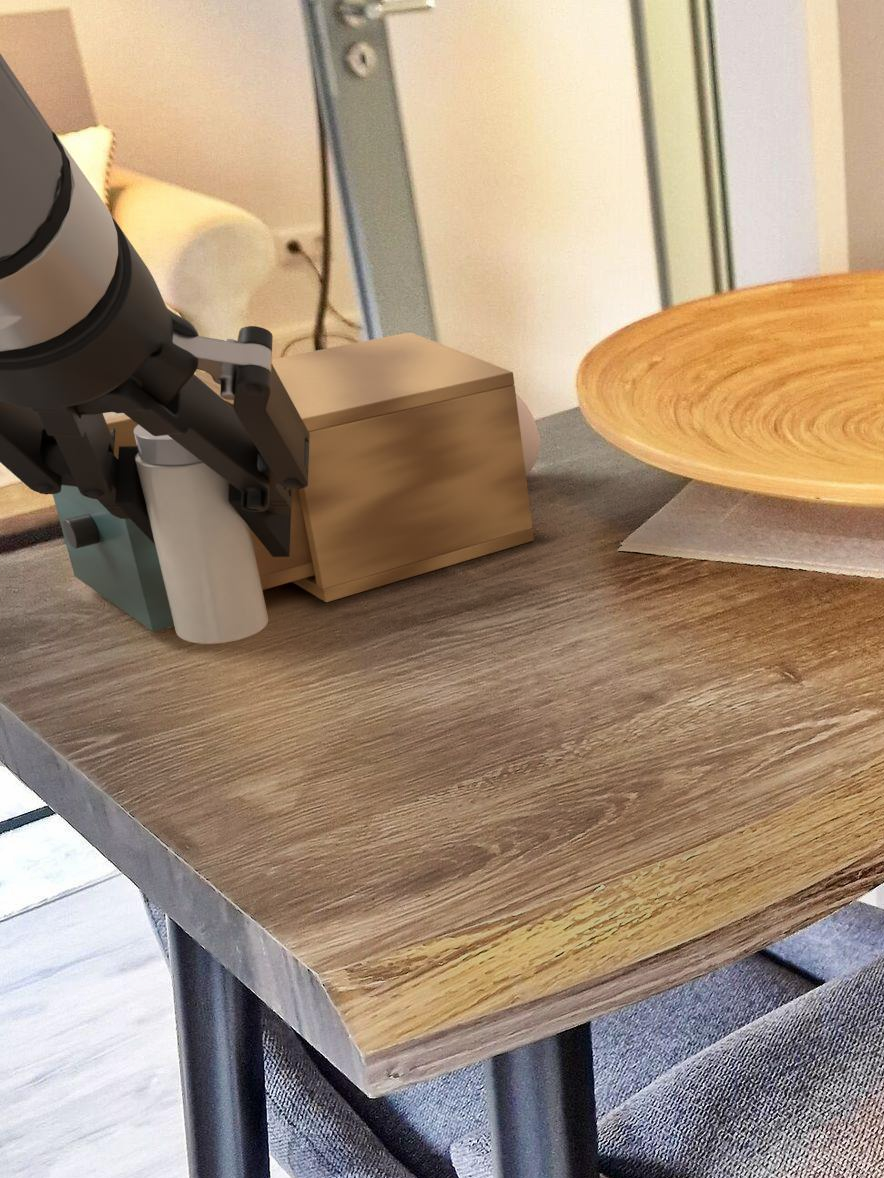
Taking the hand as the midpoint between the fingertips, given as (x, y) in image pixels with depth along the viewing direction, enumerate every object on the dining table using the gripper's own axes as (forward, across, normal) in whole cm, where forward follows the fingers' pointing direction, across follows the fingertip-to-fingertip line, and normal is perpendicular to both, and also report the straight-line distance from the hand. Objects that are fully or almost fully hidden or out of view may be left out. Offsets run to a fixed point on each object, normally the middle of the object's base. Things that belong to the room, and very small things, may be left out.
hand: (230, 531), depth 81 cm
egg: (+28, +8, +15) cm, 33 cm away
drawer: (+16, -6, +4) cm, 18 cm away
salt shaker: (0, 0, -5) cm, 5 cm away
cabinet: (+21, +2, +8) cm, 23 cm away
